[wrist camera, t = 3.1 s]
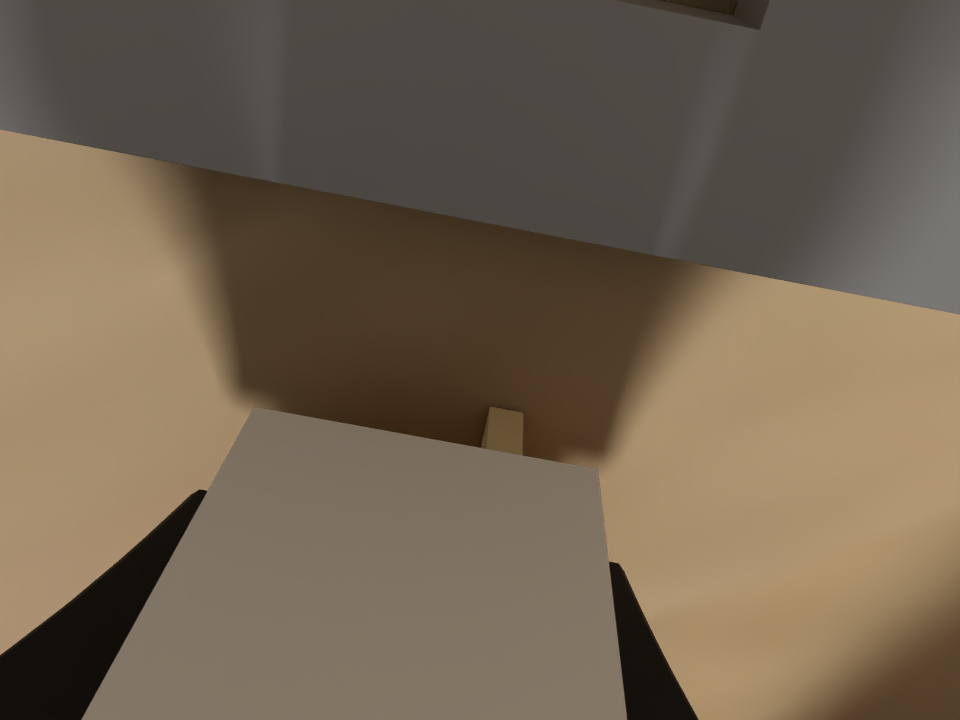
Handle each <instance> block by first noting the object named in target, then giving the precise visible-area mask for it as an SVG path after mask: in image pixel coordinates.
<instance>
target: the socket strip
mask: <svg viewBox="0 0 960 720" xmlns="http://www.w3.org/2000/svg"><path fill="white" fill-rule="evenodd" d="M0 129H1V130H6V131H11V132H16V133H21V134H27V135H32V136H37V137H42V138H47V139H53V140H58V141H63V142H68V143H73V144H79V145H84V146H89V147H94V148H99V149H104V150H110V151H115V152H120V153H125V154H130V155H136V156H141V157H146V158H151V159H156V160H162V161H167V162H172V163H177V164H182V165H187V166H193V167H198V168H203V169H208V170H213V171H219V172H224V173H229V174H234V175H239V176H245V177H250V178H255V179H260V180H265V181H270V182H276V183H281V184H286V185H291V186H296V187H302V188H307V189H312V190H317V191H322V192H328V193H333V194H338V195H343V196H348V197H354V198H359V199H364V200H369V201H374V202H379V203H385V204H390V205H395V206H400V207H405V208H411V209H416V210H421V211H426V212H431V213H437V214H442V215H447V216H452V217H457V218H462V219H468V220H473V221H478V222H483V223H488V224H494V225H499V226H504V227H509V228H514V229H520V230H525V231H530V232H535V233H540V234H545V235H551V236H556V237H561V238H566V239H571V240H577V241H582V242H587V243H592V244H597V245H603V246H608V247H613V248H618V249H623V250H629V251H634V252H639V253H644V254H649V255H654V256H660V257H665V258H670V259H675V260H680V261H686V262H691V263H696V264H701V265H706V266H712V267H717V268H722V269H727V270H732V271H737V272H743V273H748V274H753V275H758V276H763V277H769V278H774V279H779V280H784V281H789V282H795V283H800V284H805V285H810V286H815V287H821V288H826V289H831V290H836V291H841V292H846V293H852V294H857V295H862V296H867V297H872V298H878V299H883V300H888V301H893V302H898V303H904V304H909V305H914V306H919V307H924V308H929V309H935V310H940V311H945V312H950V313H955V314H960V0H738V2H737V5H736V9H735V12H734V15H729V14H724V13H719V12H714V11H709V10H705V9H700V8H695V7H690V6H685V5H680V4H676V3H671V2H666V1H661V0H0Z"/></svg>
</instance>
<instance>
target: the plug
mask: <svg viewBox="0 0 960 720" xmlns="http://www.w3.org/2000/svg"><path fill="white" fill-rule="evenodd" d="M82 720H627V714H626V705H625V697H624V688H623V679H622V671H621V662H620V654H619V645H618V636H617V628H616V619H615V611H614V602H613V593H612V585H611V576H610V568H609V559H608V550H607V542H606V533H605V525H604V516H603V507H602V499H601V490H600V482H599V473H598V469H594V468H589V467H583V466H578V465H572V464H566V463H561V462H555V461H550V460H544V459H539V458H533V457H528V456H523V412H517V411H512V410H506V409H501V408H495V407H490V408H489V413H488V417H487V422H486V426H485V431H484V435H483V439H482V444H481V448H478V447H473V446H467V445H462V444H456V443H451V442H445V441H440V440H434V439H429V438H423V437H418V436H412V435H407V434H401V433H396V432H390V431H384V430H379V429H373V428H368V427H362V426H357V425H351V424H346V423H340V422H335V421H329V420H324V419H318V418H313V417H307V416H302V415H296V414H291V413H285V412H280V411H274V410H269V409H263V408H258V407H254V408H253V410H252V412H251V413H250V415H249V417H248V419H247V421H246V423H245V424H244V426H243V428H242V430H241V432H240V433H239V435H238V437H237V439H236V441H235V442H234V444H233V446H232V448H231V450H230V452H229V453H228V455H227V457H226V459H225V461H224V462H223V464H222V466H221V468H220V470H219V471H218V473H217V475H216V477H215V479H214V480H213V482H212V484H211V486H210V488H209V490H208V491H207V493H206V495H205V497H204V499H203V500H202V502H201V504H200V506H199V508H198V509H197V511H196V513H195V515H194V517H193V519H192V520H191V522H190V524H189V526H188V528H187V529H186V531H185V533H184V535H183V537H182V538H181V540H180V542H179V544H178V546H177V547H176V549H175V551H174V553H173V555H172V557H171V558H170V560H169V562H168V564H167V566H166V567H165V569H164V571H163V573H162V575H161V576H160V578H159V580H158V582H157V584H156V586H155V587H154V589H153V591H152V593H151V595H150V596H149V598H148V600H147V602H146V604H145V605H144V607H143V609H142V611H141V613H140V614H139V616H138V618H137V620H136V622H135V624H134V625H133V627H132V629H131V631H130V633H129V634H128V636H127V638H126V640H125V642H124V643H123V645H122V647H121V649H120V651H119V653H118V654H117V656H116V658H115V660H114V662H113V663H112V665H111V667H110V669H109V671H108V672H107V674H106V676H105V678H104V680H103V681H102V683H101V685H100V687H99V689H98V691H97V692H96V694H95V696H94V698H93V700H92V701H91V703H90V705H89V707H88V709H87V710H86V712H85V714H84V716H83V718H82Z"/></svg>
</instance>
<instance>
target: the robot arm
mask: <svg viewBox="0 0 960 720" xmlns="http://www.w3.org/2000/svg"><path fill="white" fill-rule="evenodd" d="M206 493H207V491H206V490H198V491H196V492H195V493H193V494H191V495H190V496H189V497H188V498H187V499H186V500H185V501H184V502H183V503H182V504H181V505H180V506H178V507H177V508H176V509H175V510H174V511H173V512H172V513H171V514H170V515H169V516H168V517H167V518H166V519H165V520H164V521H162V522H161V523H160V524H159V525H158V526H157V527H156V528H155V529H154V530H153V531H152V532H150V533H149V534H148V535H147V536H146V537H145V538H144V539H143V540H142V541H140V542H139V543H138V544H137V545H136V546H135V547H134V548H133V549H131V550H130V551H129V552H128V553H127V554H126V555H125V556H124V557H122V558H121V559H120V560H119V561H118V562H117V563H115V564H114V565H113V566H112V567H111V568H110V569H108V570H107V571H106V572H105V573H104V574H102V575H101V576H100V577H99V578H98V579H96V580H95V581H94V582H93V583H92V584H91V585H89V586H88V587H87V588H86V589H85V590H83V591H82V592H81V593H80V594H79V595H77V596H76V597H75V598H74V599H73V600H71V601H70V602H69V603H68V604H66V605H65V606H64V607H63V608H61V609H60V610H59V611H58V612H56V613H55V614H54V615H52V616H51V617H50V618H48V619H47V620H46V621H45V622H43V623H42V624H41V625H39V626H38V627H37V628H35V629H34V630H33V631H31V632H30V633H29V634H28V635H26V636H25V637H24V638H22V639H21V640H20V641H18V642H17V643H16V644H14V645H13V646H12V647H11V648H9V649H8V650H7V651H5V652H4V653H3V654H1V655H0V720H82V718H83V716H84V714H85V712H86V710H87V709H88V707H89V705H90V703H91V701H92V700H93V698H94V696H95V694H96V692H97V691H98V689H99V687H100V685H101V683H102V681H103V680H104V678H105V676H106V674H107V672H108V671H109V669H110V667H111V665H112V663H113V662H114V660H115V658H116V656H117V654H118V653H119V651H120V649H121V647H122V645H123V643H124V642H125V640H126V638H127V636H128V634H129V633H130V631H131V629H132V627H133V625H134V624H135V622H136V620H137V618H138V616H139V614H140V613H141V611H142V609H143V607H144V605H145V604H146V602H147V600H148V598H149V596H150V595H151V593H152V591H153V589H154V587H155V586H156V584H157V582H158V580H159V578H160V576H161V575H162V573H163V571H164V569H165V567H166V566H167V564H168V562H169V560H170V558H171V557H172V555H173V553H174V551H175V549H176V547H177V546H178V544H179V542H180V540H181V538H182V537H183V535H184V533H185V531H186V529H187V528H188V526H189V524H190V522H191V520H192V519H193V517H194V515H195V513H196V511H197V509H198V508H199V506H200V504H201V502H202V500H203V499H204V497H205V495H206ZM609 568H610V576H611V585H612V593H613V602H614V611H615V619H616V628H617V636H618V645H619V654H620V662H621V671H622V679H623V688H624V697H625V705H626V714H627V720H698V718H697V716H696V714H695V712H694V711H693V709H692V707H691V705H690V703H689V701H688V700H687V698H686V696H685V694H684V692H683V690H682V689H681V687H680V685H679V683H678V681H677V679H676V678H675V676H674V674H673V672H672V670H671V668H670V666H669V664H668V662H667V660H666V658H665V657H664V655H663V653H662V651H661V649H660V647H659V645H658V643H657V641H656V639H655V637H654V634H653V632H652V630H651V628H650V626H649V624H648V622H647V620H646V618H645V616H644V614H643V612H642V610H641V607H640V605H639V603H638V601H637V599H636V597H635V595H634V592H633V590H632V588H631V586H630V584H629V581H628V579H627V577H626V575H625V572H624V571H623V569H622V568H621V566H620V565H619V563H613V562H609Z"/></svg>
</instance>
